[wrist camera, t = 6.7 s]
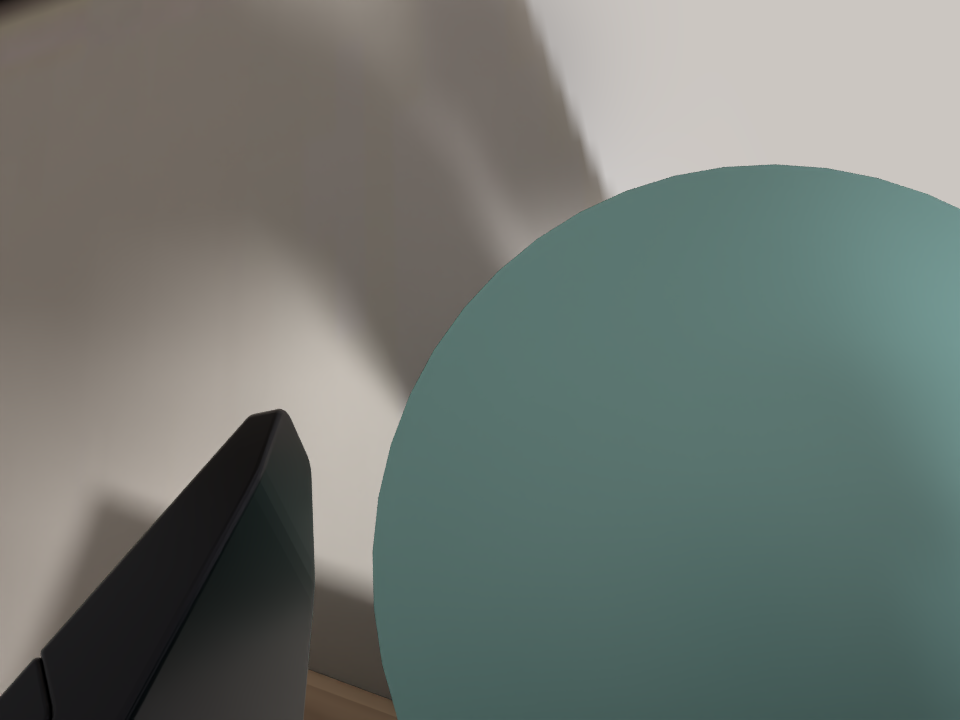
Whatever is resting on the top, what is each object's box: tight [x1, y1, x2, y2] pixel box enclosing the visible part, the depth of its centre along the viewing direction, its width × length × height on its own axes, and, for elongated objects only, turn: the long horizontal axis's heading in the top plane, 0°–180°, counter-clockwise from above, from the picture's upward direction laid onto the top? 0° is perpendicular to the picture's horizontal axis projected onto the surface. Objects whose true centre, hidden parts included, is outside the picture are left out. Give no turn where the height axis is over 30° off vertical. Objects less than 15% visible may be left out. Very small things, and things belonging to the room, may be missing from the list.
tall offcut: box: [373, 165, 960, 720], centre depth 10 cm, size 4×4×13 cm
